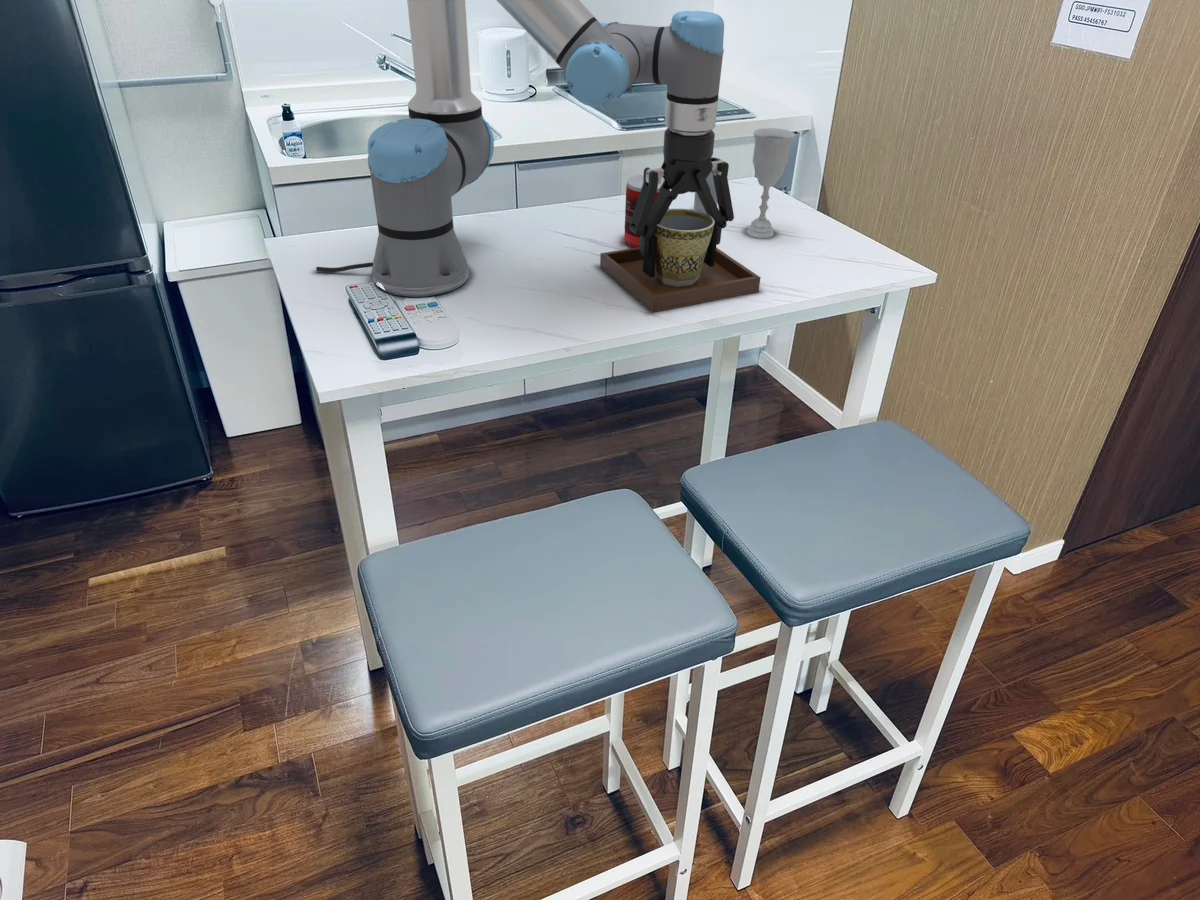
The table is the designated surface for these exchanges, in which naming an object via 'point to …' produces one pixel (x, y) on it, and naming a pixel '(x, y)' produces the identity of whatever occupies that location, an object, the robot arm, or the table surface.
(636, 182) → the canned food
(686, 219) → the ceramic cup
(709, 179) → the gray cylinder
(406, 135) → the robot arm
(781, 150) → the chalice
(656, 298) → the tray
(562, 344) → the table surface
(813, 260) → the table surface
